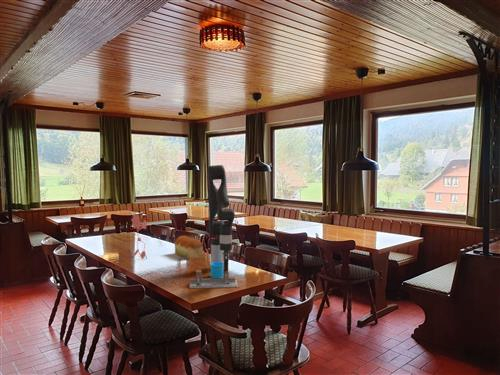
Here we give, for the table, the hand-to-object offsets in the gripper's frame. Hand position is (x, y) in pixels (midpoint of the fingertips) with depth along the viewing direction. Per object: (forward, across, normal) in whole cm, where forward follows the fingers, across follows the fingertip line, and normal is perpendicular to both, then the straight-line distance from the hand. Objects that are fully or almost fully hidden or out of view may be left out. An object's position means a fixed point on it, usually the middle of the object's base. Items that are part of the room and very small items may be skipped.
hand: (225, 270), depth 230 cm
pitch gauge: (+8, +3, -7) cm, 11 cm away
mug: (+8, -17, -4) cm, 19 cm away
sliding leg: (+6, +2, 0) cm, 6 cm away
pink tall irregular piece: (+8, -69, -67) cm, 97 cm away
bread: (+9, -76, -27) cm, 82 cm away
